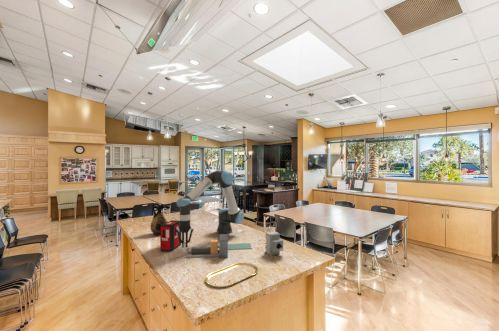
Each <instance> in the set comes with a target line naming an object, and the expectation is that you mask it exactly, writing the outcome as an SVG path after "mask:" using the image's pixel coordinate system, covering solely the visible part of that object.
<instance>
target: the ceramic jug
mask: <svg viewBox="0 0 499 331" xmlns="http://www.w3.org/2000/svg"><path fill="white" fill-rule="evenodd" d="M156 206H157V207H156ZM155 207H156V208H155ZM151 208H152V212H153V217H152V219H151V222H150V225H149V226H150V230H151V232H152V234H153V235H154V236H160V225H162V224H165V223H167V222H168V221H167V218H166V217H165V215H164V214H163V213H162V210H164V209H166V208H167V206H165V204H163V203H162V204H161V205H160V203H158V202H155V203H153V204H152V206H151ZM155 210H156V211H157V212H156V211H155Z"/></svg>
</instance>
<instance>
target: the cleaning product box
mask: <svg viewBox="0 0 499 331" xmlns="http://www.w3.org/2000/svg"><path fill="white" fill-rule="evenodd" d="M179 227H180V220H169V221H167V223H165V224H162V225H160V235H159V236H160V237H159V238H160V239H159V240H160V242H159V243H160V247H159V248H160V249H159V250H160V252H162V253H172V252H174V251H175V250H177V249H178V248H179V247H181V246H182V243H180V242H179V238H178V234H177V232H176V230H177V229H178V228H179ZM179 232H180V236H181V237H182V232H181V231H179Z"/></svg>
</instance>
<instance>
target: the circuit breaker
mask: <svg viewBox="0 0 499 331" xmlns="http://www.w3.org/2000/svg"><path fill="white" fill-rule="evenodd" d="M280 236H281V235H280V233H279V232H277V231H274V230H272V231H265V249H264V250H265V253H266V254H268V255H270V256H274V255H279V254H281V253H280V252H283V251H284V240H283V239H282V238H281V237H280Z"/></svg>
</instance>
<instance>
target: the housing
mask: <svg viewBox="0 0 499 331" xmlns="http://www.w3.org/2000/svg"><path fill="white" fill-rule="evenodd" d="M228 236H229V234H219V239H218V246H219V249H218V254H197V255H191V250H188V251H187V254H186V255H185V258H208V257H209V258H210V257H212V258H213V257H219V258H220V259H227V258H229V257H228V256H229V254H228V253H229V250H228V244H229V237H228Z"/></svg>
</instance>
